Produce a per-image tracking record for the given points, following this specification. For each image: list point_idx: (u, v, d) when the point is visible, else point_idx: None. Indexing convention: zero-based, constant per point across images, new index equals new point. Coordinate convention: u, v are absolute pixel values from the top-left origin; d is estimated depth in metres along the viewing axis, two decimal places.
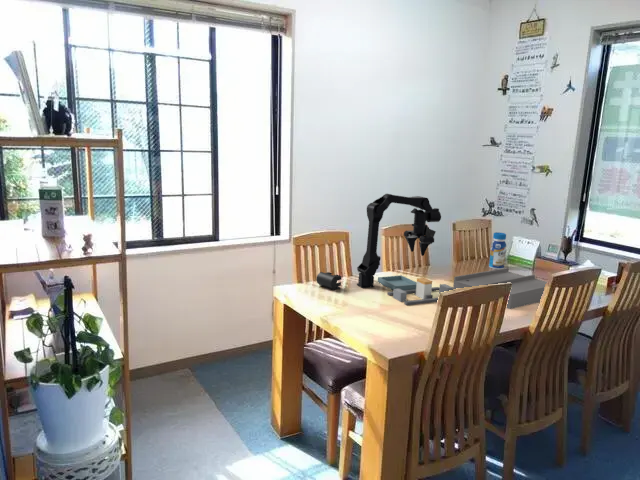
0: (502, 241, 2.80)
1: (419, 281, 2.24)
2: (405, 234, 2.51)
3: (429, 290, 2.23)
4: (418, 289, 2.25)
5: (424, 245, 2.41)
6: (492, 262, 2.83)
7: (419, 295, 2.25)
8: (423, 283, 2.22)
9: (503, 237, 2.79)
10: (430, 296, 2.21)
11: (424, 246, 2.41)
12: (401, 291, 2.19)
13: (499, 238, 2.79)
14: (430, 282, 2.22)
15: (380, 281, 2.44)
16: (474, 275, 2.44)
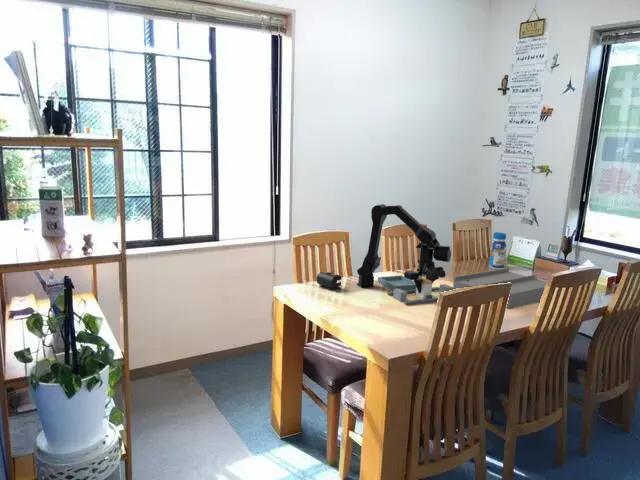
0: (502, 241, 2.80)
1: None
2: None
3: (429, 290, 2.23)
4: None
5: (417, 281, 2.23)
6: (492, 262, 2.83)
7: (419, 295, 2.25)
8: (423, 283, 2.22)
9: (503, 237, 2.79)
10: (430, 296, 2.21)
11: (417, 282, 2.23)
12: (401, 291, 2.19)
13: (499, 238, 2.79)
14: (430, 282, 2.22)
15: (380, 281, 2.44)
16: (474, 275, 2.44)
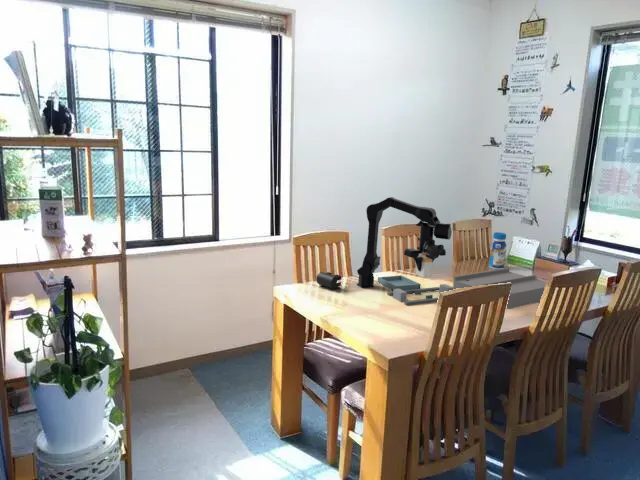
0: (502, 241, 2.80)
1: None
2: None
3: (429, 268, 2.22)
4: None
5: (418, 259, 2.22)
6: (492, 262, 2.83)
7: (419, 273, 2.24)
8: (423, 261, 2.21)
9: (503, 237, 2.79)
10: (430, 296, 2.21)
11: (418, 260, 2.22)
12: (401, 291, 2.19)
13: (499, 238, 2.79)
14: (430, 260, 2.21)
15: (380, 281, 2.44)
16: (474, 275, 2.44)
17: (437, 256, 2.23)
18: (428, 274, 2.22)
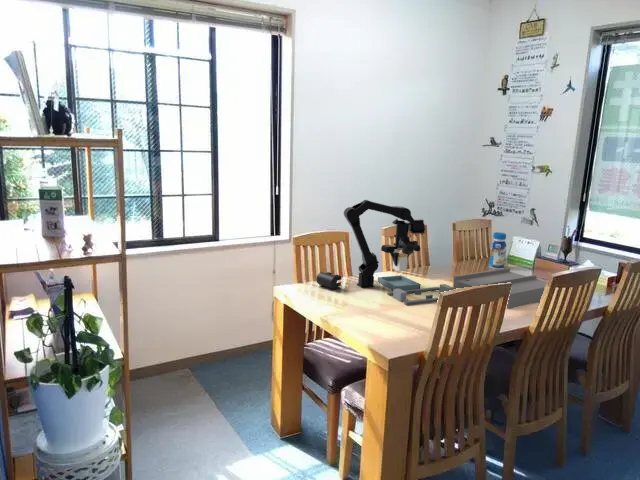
0: (502, 241, 2.80)
1: None
2: None
3: (404, 263, 2.38)
4: None
5: (394, 255, 2.38)
6: (492, 262, 2.83)
7: (395, 268, 2.40)
8: (399, 256, 2.37)
9: (503, 237, 2.79)
10: (430, 296, 2.21)
11: (394, 256, 2.38)
12: (401, 291, 2.19)
13: (499, 238, 2.79)
14: (405, 255, 2.37)
15: (380, 281, 2.44)
16: (474, 275, 2.44)
17: (412, 252, 2.39)
18: (404, 268, 2.38)
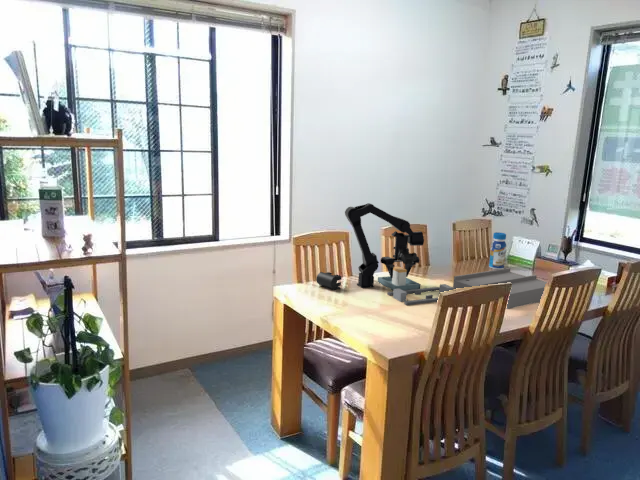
0: (502, 241, 2.80)
1: (394, 269, 2.41)
2: None
3: (403, 278, 2.39)
4: (394, 277, 2.42)
5: (389, 267, 2.38)
6: (492, 262, 2.83)
7: (395, 283, 2.41)
8: (398, 271, 2.38)
9: (503, 237, 2.79)
10: (430, 296, 2.21)
11: (389, 268, 2.39)
12: (401, 291, 2.19)
13: (499, 238, 2.79)
14: (404, 270, 2.39)
15: (380, 281, 2.44)
16: (474, 275, 2.44)
17: (415, 263, 2.41)
18: (403, 283, 2.40)
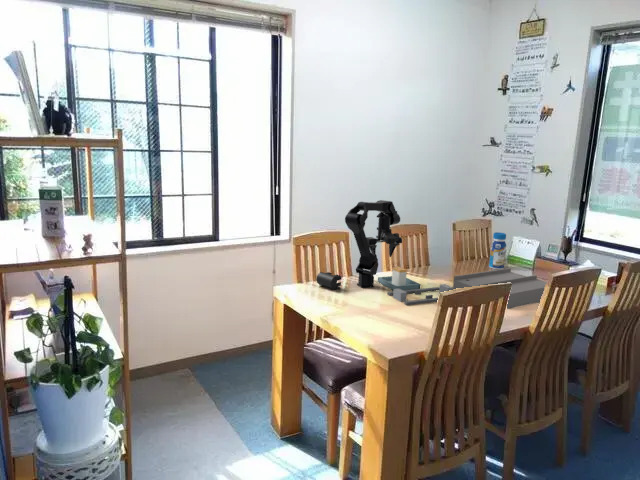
0: (502, 241, 2.80)
1: (394, 269, 2.41)
2: None
3: (403, 278, 2.39)
4: (394, 277, 2.42)
5: (372, 247, 2.44)
6: (492, 262, 2.83)
7: (395, 283, 2.41)
8: (398, 271, 2.38)
9: (503, 237, 2.79)
10: (430, 296, 2.21)
11: (372, 248, 2.44)
12: (401, 291, 2.19)
13: (499, 238, 2.79)
14: (404, 270, 2.39)
15: (380, 281, 2.44)
16: (475, 275, 2.45)
17: (398, 243, 2.47)
18: (403, 283, 2.40)
